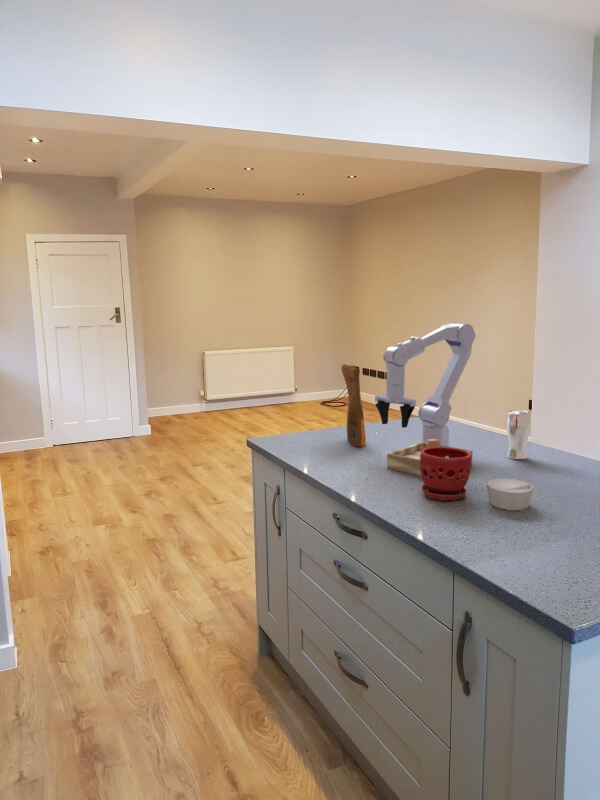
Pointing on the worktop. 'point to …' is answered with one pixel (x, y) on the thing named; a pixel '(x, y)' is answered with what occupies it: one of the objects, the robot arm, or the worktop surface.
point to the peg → (433, 443)
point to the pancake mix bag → (354, 407)
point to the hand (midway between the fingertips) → (394, 425)
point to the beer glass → (518, 433)
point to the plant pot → (445, 472)
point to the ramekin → (509, 493)
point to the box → (410, 458)
